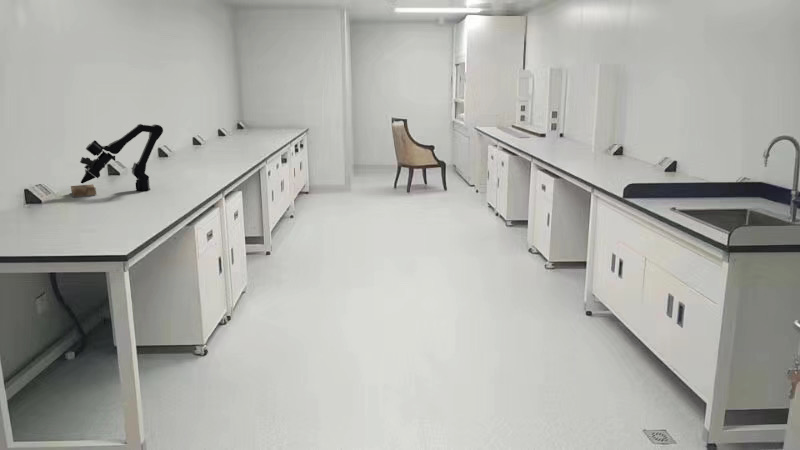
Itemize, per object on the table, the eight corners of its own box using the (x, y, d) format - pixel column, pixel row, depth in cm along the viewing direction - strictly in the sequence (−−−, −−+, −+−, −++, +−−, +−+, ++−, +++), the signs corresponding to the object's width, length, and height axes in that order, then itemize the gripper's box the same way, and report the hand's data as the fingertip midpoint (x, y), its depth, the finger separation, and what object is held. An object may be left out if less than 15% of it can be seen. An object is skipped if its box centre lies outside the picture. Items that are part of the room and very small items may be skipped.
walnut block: (92, 184, 347) (70, 185, 341) (95, 187, 337) (73, 189, 331) (93, 191, 347) (71, 193, 342) (96, 194, 338) (73, 196, 332)
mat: (91, 192, 348) (91, 191, 348) (95, 195, 336) (95, 195, 336) (69, 193, 342) (69, 193, 342) (72, 197, 331) (72, 196, 331)
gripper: (86, 150, 345) (66, 171, 341) (91, 153, 329) (70, 175, 326) (103, 163, 351) (84, 184, 347) (108, 167, 335) (88, 189, 332)
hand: (81, 182), depth 338 cm, fingers closed
